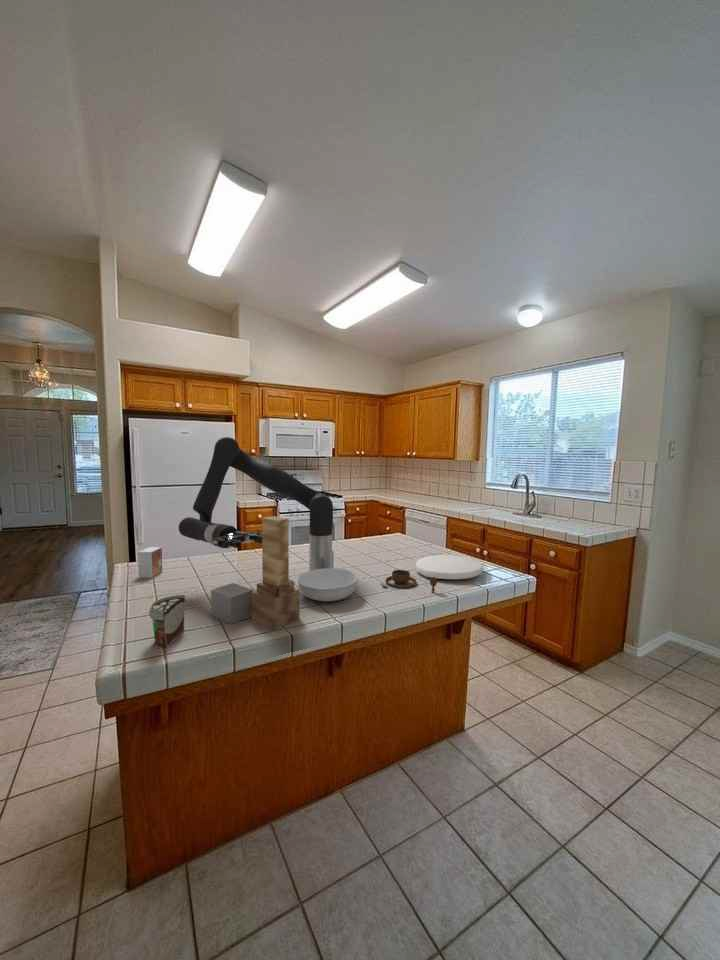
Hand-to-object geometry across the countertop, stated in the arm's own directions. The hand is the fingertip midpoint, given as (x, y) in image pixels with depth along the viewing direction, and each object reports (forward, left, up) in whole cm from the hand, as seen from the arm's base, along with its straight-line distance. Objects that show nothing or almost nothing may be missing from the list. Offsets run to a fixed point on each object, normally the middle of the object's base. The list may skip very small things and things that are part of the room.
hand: (251, 542), depth 121 cm
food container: (+26, -4, -22) cm, 34 cm away
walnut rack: (0, +11, -22) cm, 25 cm away
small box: (+3, -60, -22) cm, 64 cm away
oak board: (0, +11, -13) cm, 17 cm away
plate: (-75, +34, -22) cm, 85 cm away
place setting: (-49, +28, -23) cm, 61 cm away
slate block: (+6, -2, -22) cm, 23 cm away
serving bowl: (-24, +11, -22) cm, 35 cm away
